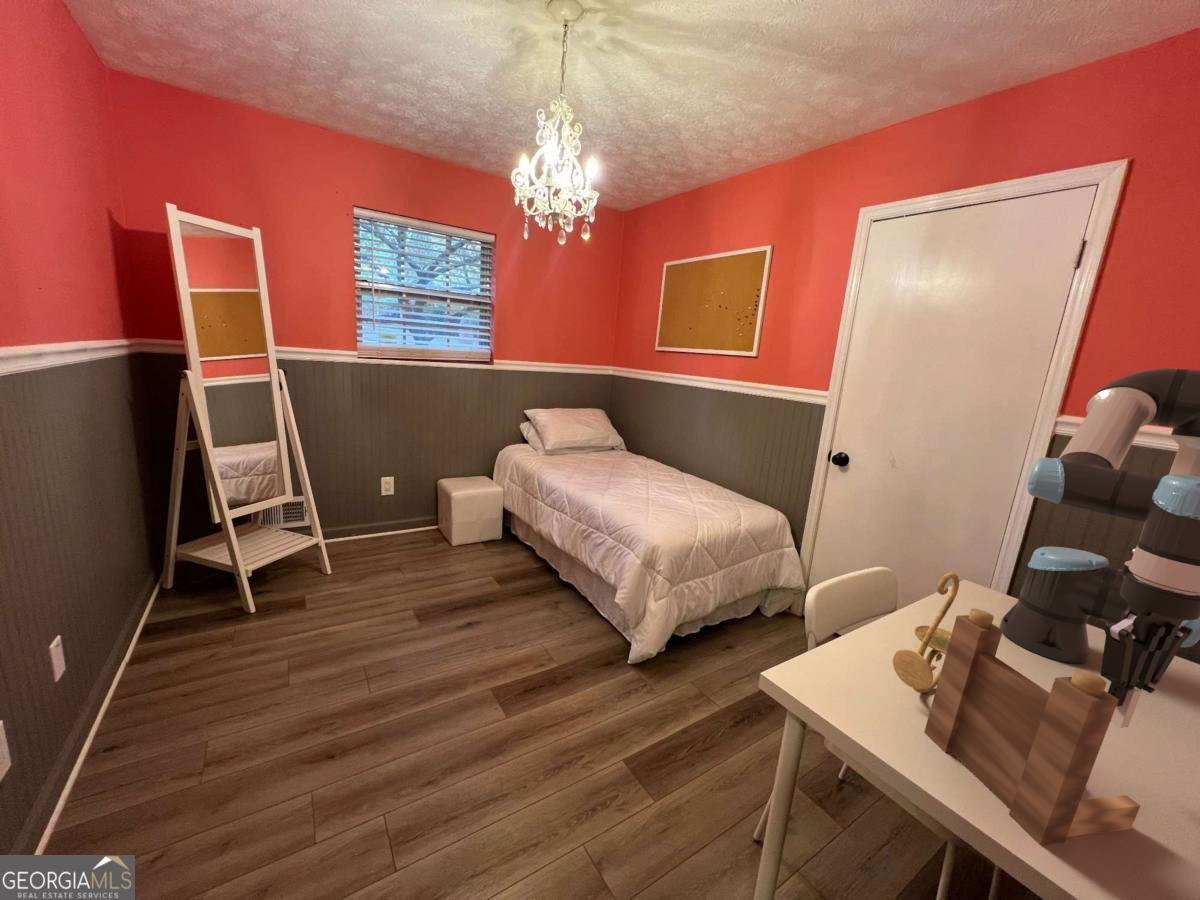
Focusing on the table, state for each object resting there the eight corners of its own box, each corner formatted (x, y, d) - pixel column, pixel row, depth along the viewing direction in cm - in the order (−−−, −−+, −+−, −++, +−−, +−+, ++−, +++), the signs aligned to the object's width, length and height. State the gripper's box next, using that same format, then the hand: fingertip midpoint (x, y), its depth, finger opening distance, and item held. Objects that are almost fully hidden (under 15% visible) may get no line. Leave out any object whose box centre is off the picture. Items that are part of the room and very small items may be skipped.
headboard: (1002, 726, 80) (1041, 605, 75) (1135, 833, 62) (1197, 684, 57) (924, 732, 77) (959, 606, 72) (1040, 844, 60) (1096, 689, 55)
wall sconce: (930, 721, 80) (966, 591, 74) (877, 684, 88) (907, 565, 82) (972, 699, 86) (1008, 578, 81) (919, 667, 94) (948, 555, 89)
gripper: (1165, 569, 70) (1116, 699, 75) (1097, 570, 68) (1051, 704, 73) (1239, 595, 63) (1179, 737, 68) (1165, 598, 60) (1109, 744, 66)
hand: (1113, 720), depth 70 cm, fingers closed
